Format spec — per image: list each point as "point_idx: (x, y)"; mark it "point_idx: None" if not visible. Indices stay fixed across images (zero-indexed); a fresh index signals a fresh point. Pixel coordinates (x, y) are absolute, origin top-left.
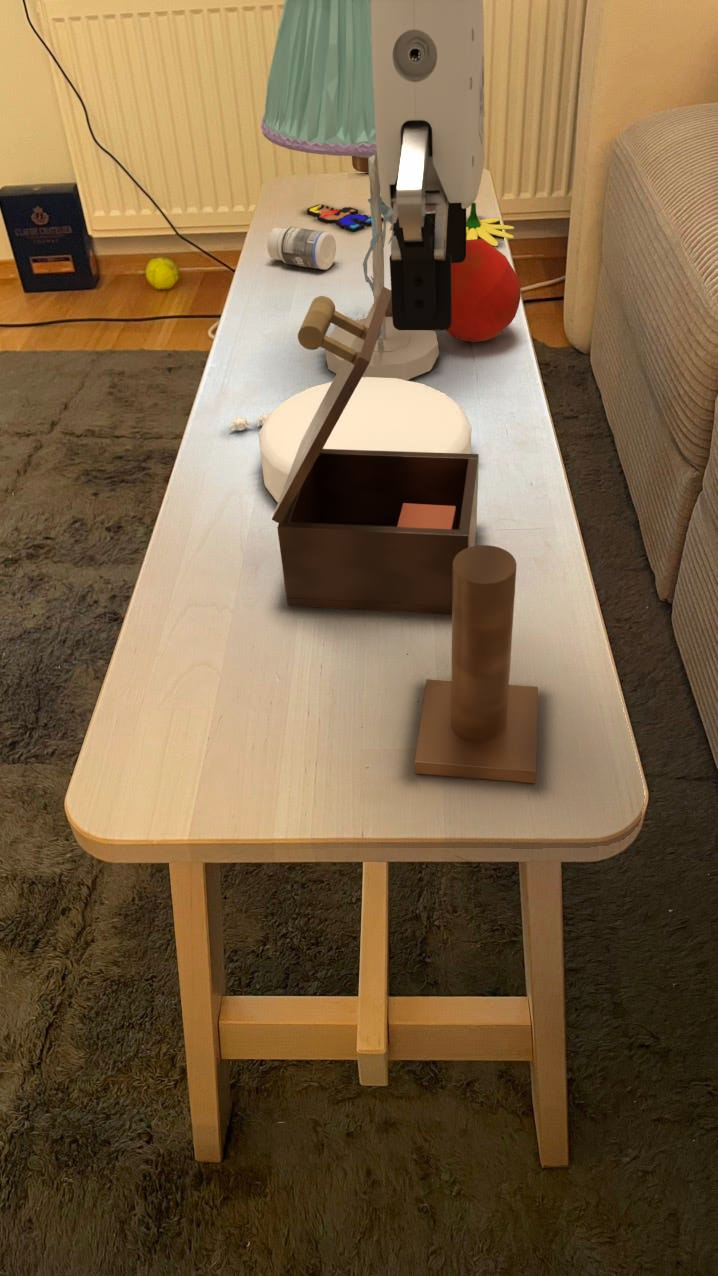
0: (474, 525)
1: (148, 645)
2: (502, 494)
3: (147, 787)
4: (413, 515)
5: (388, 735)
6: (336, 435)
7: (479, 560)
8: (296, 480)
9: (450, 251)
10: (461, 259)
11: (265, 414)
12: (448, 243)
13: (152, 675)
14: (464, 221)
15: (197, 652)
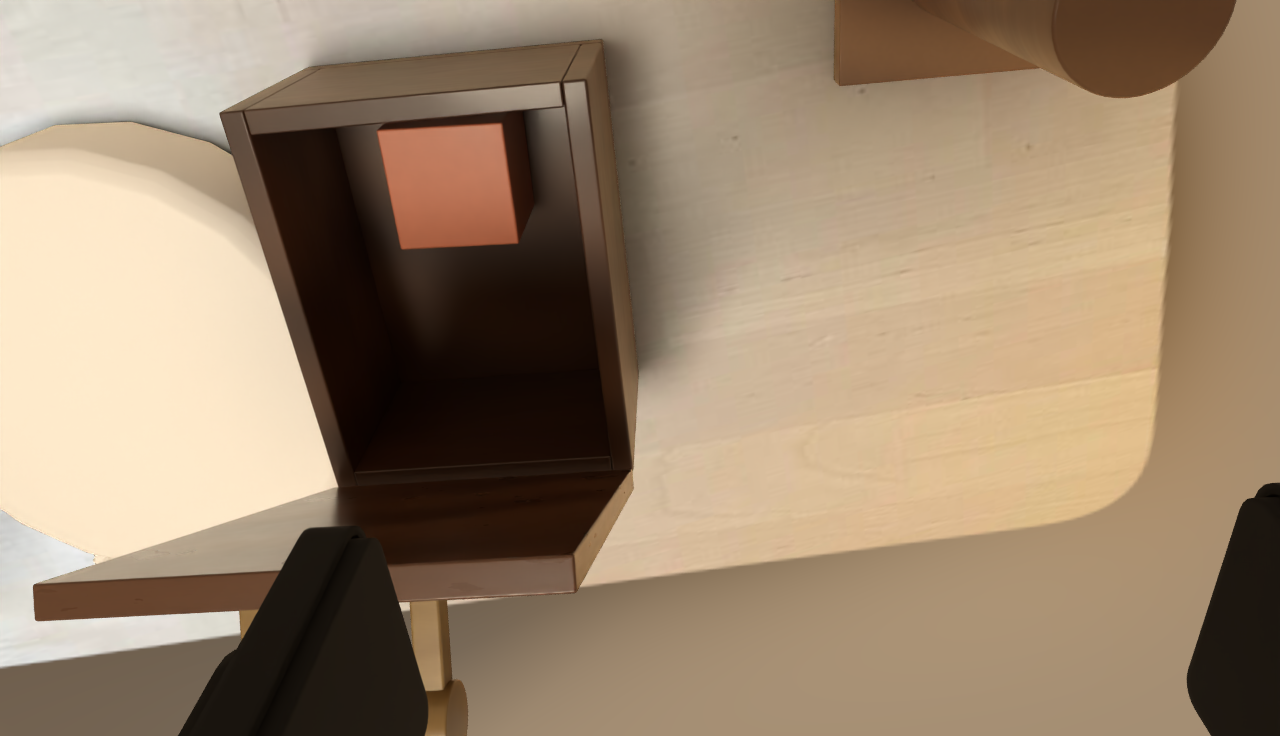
0: (376, 73)
1: (769, 535)
2: (142, 27)
3: (1064, 446)
4: (442, 218)
5: (951, 127)
6: (188, 434)
7: (1129, 24)
8: (623, 500)
9: (374, 624)
10: (374, 543)
11: (99, 560)
12: (363, 669)
13: (834, 510)
14: (265, 707)
15: (776, 468)
